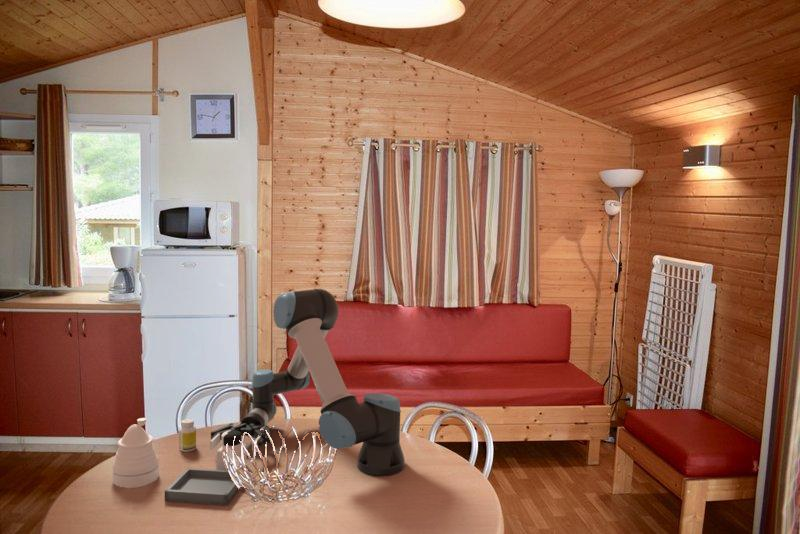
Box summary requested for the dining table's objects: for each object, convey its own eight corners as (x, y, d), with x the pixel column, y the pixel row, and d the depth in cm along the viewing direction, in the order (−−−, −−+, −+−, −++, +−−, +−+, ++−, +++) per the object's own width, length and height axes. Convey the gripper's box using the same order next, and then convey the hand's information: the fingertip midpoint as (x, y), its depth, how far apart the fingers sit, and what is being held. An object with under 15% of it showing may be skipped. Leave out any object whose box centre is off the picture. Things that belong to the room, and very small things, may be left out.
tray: (245, 481, 188) (245, 471, 188) (227, 505, 174) (227, 495, 173) (187, 477, 190) (187, 467, 190) (164, 501, 175) (164, 490, 175)
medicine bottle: (246, 465, 200) (246, 428, 198) (238, 474, 193) (238, 437, 191) (225, 463, 200) (224, 427, 199) (216, 473, 193) (215, 435, 192)
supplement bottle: (199, 448, 212) (199, 420, 211) (186, 453, 208) (186, 425, 206) (189, 444, 215) (188, 417, 214) (175, 449, 210) (175, 421, 209)
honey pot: (154, 465, 198) (152, 410, 196) (163, 481, 187) (162, 423, 185) (109, 474, 191) (107, 417, 189) (116, 491, 180) (114, 431, 178)
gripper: (289, 435, 218) (270, 460, 197) (219, 431, 220) (194, 455, 199) (289, 414, 217) (270, 437, 196) (219, 410, 220) (193, 432, 199)
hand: (232, 446), depth 198 cm, fingers open, 13 cm apart
